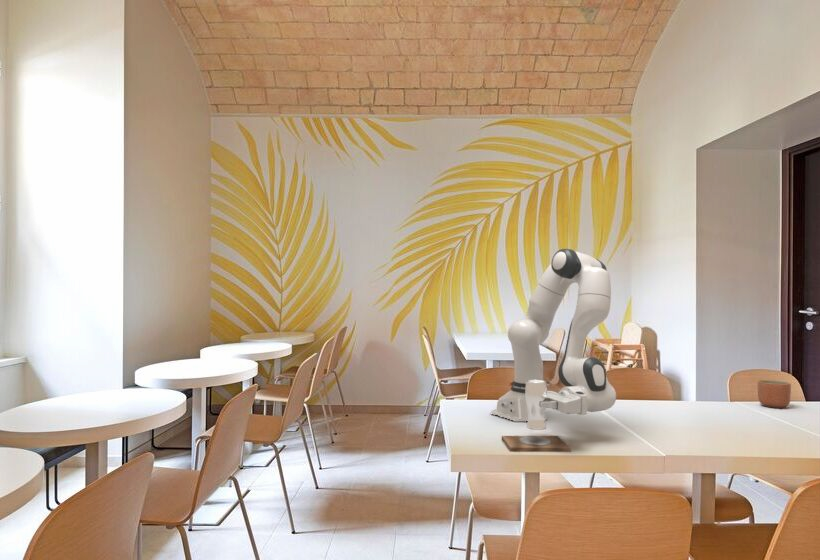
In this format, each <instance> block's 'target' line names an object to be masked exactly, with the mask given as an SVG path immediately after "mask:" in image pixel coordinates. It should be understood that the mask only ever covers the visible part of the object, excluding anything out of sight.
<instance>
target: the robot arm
mask: <svg viewBox="0 0 820 560" xmlns="http://www.w3.org/2000/svg"><path fill="white" fill-rule="evenodd" d="M574 283H577V284H578V289H577V290H578V293H577V301H576V306H575V307H576V308H575V310H574V314H573V317H572V319H571V321H570V324H569V330H568V334H567V340H566V343H565V344H566V345H565V350H564V355H563V357H562V360H561V362H560V364H559V366H558V370H557V373H558V378H559V380H560V382H561V383H562V384H563V387H562V388H561V389H560V391H558V392H556V391H552V390H547V402H540V403H539V404H540V405H539V406H540V407H541V408H546V409H552V410H554V411H558V412H561V413H563V414H567V415H570V414H571V415H572V414H573V415H575V414H576V415H581V416H584V415H587V413H588V412H590V413H596V412H602V411H606V410H609V409H611V408H612V407H613V406H614V405H615V403H616V401H617V392H616V389H615V388H614V386H613V385H612V384H611V383H610V382H609V380H608V376H607V370H606V367H605V364H604V362H602V360H600V359H599V358H597V357H594V356H593V357H584V349H585V345H586V340H587V337H588V335H589V334H590V332H591V331H593V329H594V328H596V327H597V326H598V325H600V324H601V323H603V322H604V321H605V320H606V319H607V317H608V316H609V313H610V310H611V303H612V302H611V301H612V285H611V277H610V273H609V272H608V270H607V267H606V265H605V264H604V263H603V262H602V261H601V260H599V258H595V257H593V256H591V255H589V254H586V253H583V252H581V251H580V252H579V251H576V250H574V249H570V248H561V249H559V250H557V251H556V252H555V253H554V254H553V256H552V258H551V263H550V264H549V266H547V268H546V269H545V271H544V272H543V274H542V275H541V276H540V277H539V280H538V282H537V284H536V286H535V288H534V290H533V292H532V294H531V296H530V299H529V301H528V307H527V311H526V314H525V316H524V318H522V319H518V320H516V321H514V322H513V323H512V324H511V325H510V326H509V328H508V330H507V337H508V340H509V342H510V345H511V349H512V350H511V351H512V355H513V362H514V363H513V365H514V370H513V371H514V372H513V373H514V376H513V377H514V380H513V381H512V382H508V387H510V386H511V387H510V390H509V391H507V392H506V393H505V394H504V395H502V396H500V397H499V398H498V400H497V403H496V409H493V410H491V411H490V414H491V413H492V414H495V415H498V416H502V417H505V418H507V419H506V420H508V419H510V420H509V421H511V420H513V421H512V422H526V421H528V410H527V405H526V398H525V387H526V380H544V362H543V359H542V357H541V350H540V345H541V344H543V343H544V342H545V341H546V340H547V339H548V337H549V334H550V330H551V328H552V324H553V321H554V319H555V315H556V313H557V311H558V309H559V307H560V305H561V303H562V301H563V299H564V297H565V295H566V293H567V291H568V289H569V288H570V286H571V285H572V284H574ZM492 414H491V415H492ZM495 415H494V416H495ZM498 416H497V417H498ZM505 418H504V419H505ZM546 419H547V420H548V417H547V413H546V412H545V421H547V420H546Z"/></svg>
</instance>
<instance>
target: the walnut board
mask: <svg viewBox="0 0 820 560" xmlns="http://www.w3.org/2000/svg"><path fill="white" fill-rule="evenodd" d="M501 441H502V443H504V445H505V446H506V448H507V449H508V450H509V452H534V453H535V452H544V453H545V452H546V453H547V452H550V453H551V452H553V453H554V452H558V453H559V452H560V453H561V452H564V453H566V452H567V453H568V452H569V453H571V452H572V448H571V446H570V445H569V444H567V443H566V442H565V441H564V440H563V439H562V438H561V437H560V436H558V435H501Z"/></svg>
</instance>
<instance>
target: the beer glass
mask: <svg viewBox="0 0 820 560" xmlns="http://www.w3.org/2000/svg"><path fill="white" fill-rule="evenodd" d="M547 385H548V384H547V381H546V380H544V379H543V380H526V387H525V398H526V405H527V410H528V422H527V423H526V428H527V429H529V430H535V431H537V430H538V431H542V430H545V429H547V424H546V420H545V413H546V409H547V408H541V407H540V406H539V405H540V404H539V403H540V402H547V391H548V386H547Z"/></svg>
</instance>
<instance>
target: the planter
mask: <svg viewBox="0 0 820 560" xmlns="http://www.w3.org/2000/svg"><path fill="white" fill-rule="evenodd" d="M791 390H792V383H790V382H789V381H783V380H775V379H760V380H759V379H758V380H757V400H758V401H759V403H760V404H761V405H763V406H764V407H766V408H770V409H785V408H786V407H788V406H789V405H790V403H791Z"/></svg>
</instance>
